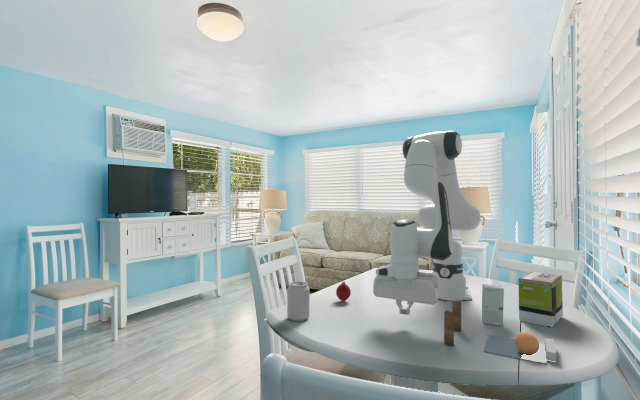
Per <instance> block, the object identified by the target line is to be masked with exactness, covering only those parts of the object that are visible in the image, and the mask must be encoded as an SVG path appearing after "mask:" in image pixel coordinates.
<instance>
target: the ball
mask: <svg viewBox="0 0 640 400" xmlns="http://www.w3.org/2000/svg"><path fill="white" fill-rule="evenodd" d="M514 339H515V346H516V348H517V349H518V350H519V351H520V352H521V353H523V354H526V355H532V354H534V353H536V352H537V351H538V349H539V343H540V342H539V340H538V339H537V337H536V336H535V335H533V334H532V333H530V332H527V331H524V332H523V331H522V332H519V333H518V334H517V335H516V336H515V338H514Z"/></svg>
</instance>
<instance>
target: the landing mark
mask: <svg viewBox="0 0 640 400" xmlns="http://www.w3.org/2000/svg"><path fill="white" fill-rule="evenodd" d="M483 352H484V353H488V354H493V355H497V356H502V355H503V356H502V357H507V356H508V357H507V358H511V357H514V358H513V359H516V358H519V357H520V358H521V357H522V356H521V355H523V353H521V352H520V351H519V350H518V349H517V348H516V346H515V338H511V337H507V336H501V335H495V334H490V333H489V334H488V336H487V340H486V344H485V347H484V351H483Z"/></svg>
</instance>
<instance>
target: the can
mask: <svg viewBox="0 0 640 400" xmlns="http://www.w3.org/2000/svg"><path fill="white" fill-rule="evenodd" d="M310 290H311V289H310V287H309V286H308V282H305V281H292V282H289V286H287V290H286V291H287V295H286V297H287V299H286V300H287V306H286V307H287V310H286V313H287V314H286V315H287V316H286V317H287V318H288V319H289V320H290V321H293V322H304V321H306V320H307V319H309V317H310V297H311V296H310V293H311V292H310Z"/></svg>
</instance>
